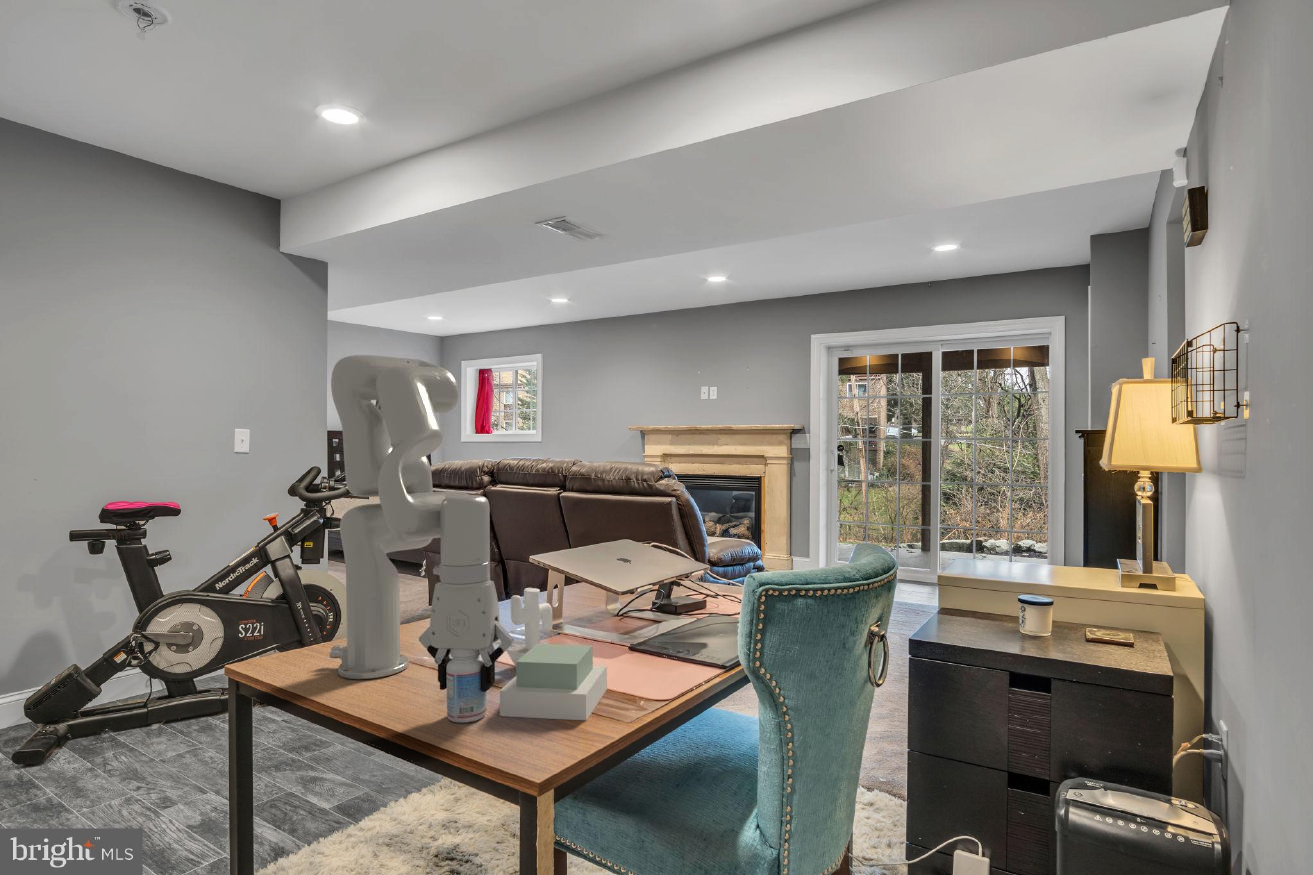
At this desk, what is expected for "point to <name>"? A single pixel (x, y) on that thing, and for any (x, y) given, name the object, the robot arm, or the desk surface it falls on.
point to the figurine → (529, 620)
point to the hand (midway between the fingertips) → (466, 686)
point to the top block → (554, 666)
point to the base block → (554, 699)
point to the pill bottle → (465, 687)
